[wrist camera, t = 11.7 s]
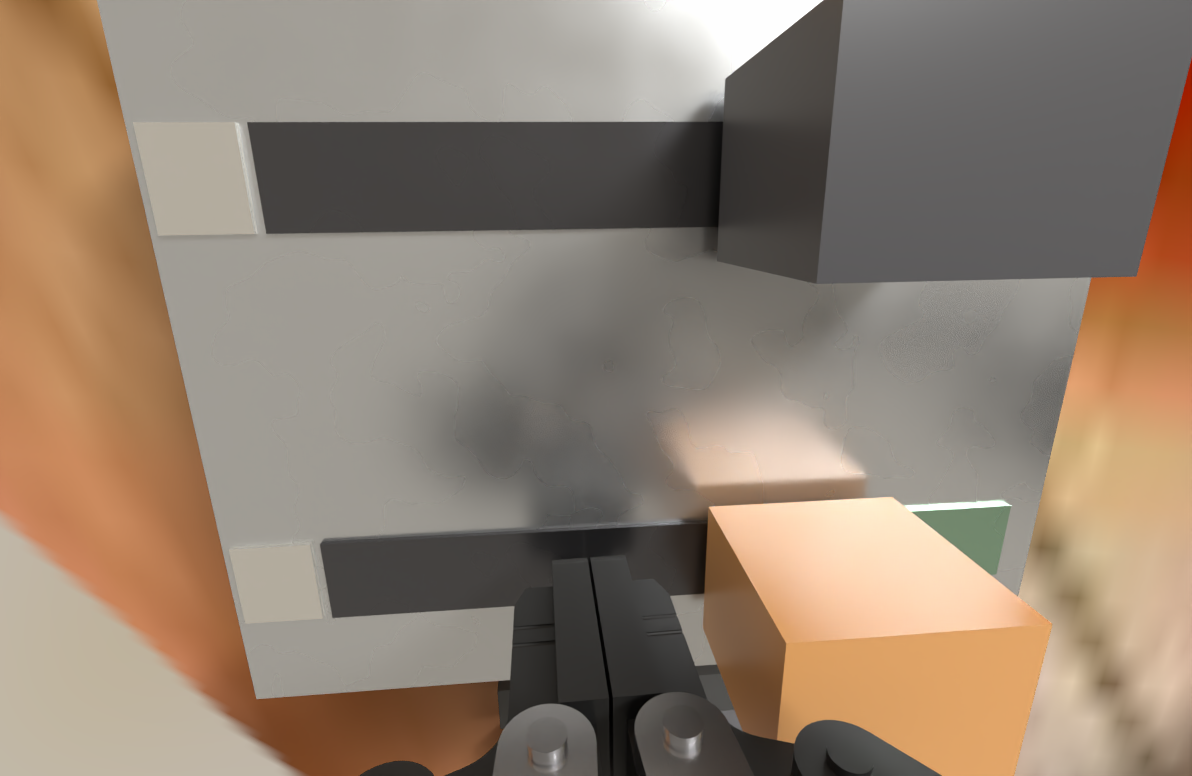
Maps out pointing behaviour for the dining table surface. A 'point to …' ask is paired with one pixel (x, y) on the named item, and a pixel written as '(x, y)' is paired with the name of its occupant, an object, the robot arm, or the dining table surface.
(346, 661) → the panel
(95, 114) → the dining table surface
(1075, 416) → the dining table surface
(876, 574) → the toggle
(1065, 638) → the dining table surface
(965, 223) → the toggle
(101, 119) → the dining table surface
